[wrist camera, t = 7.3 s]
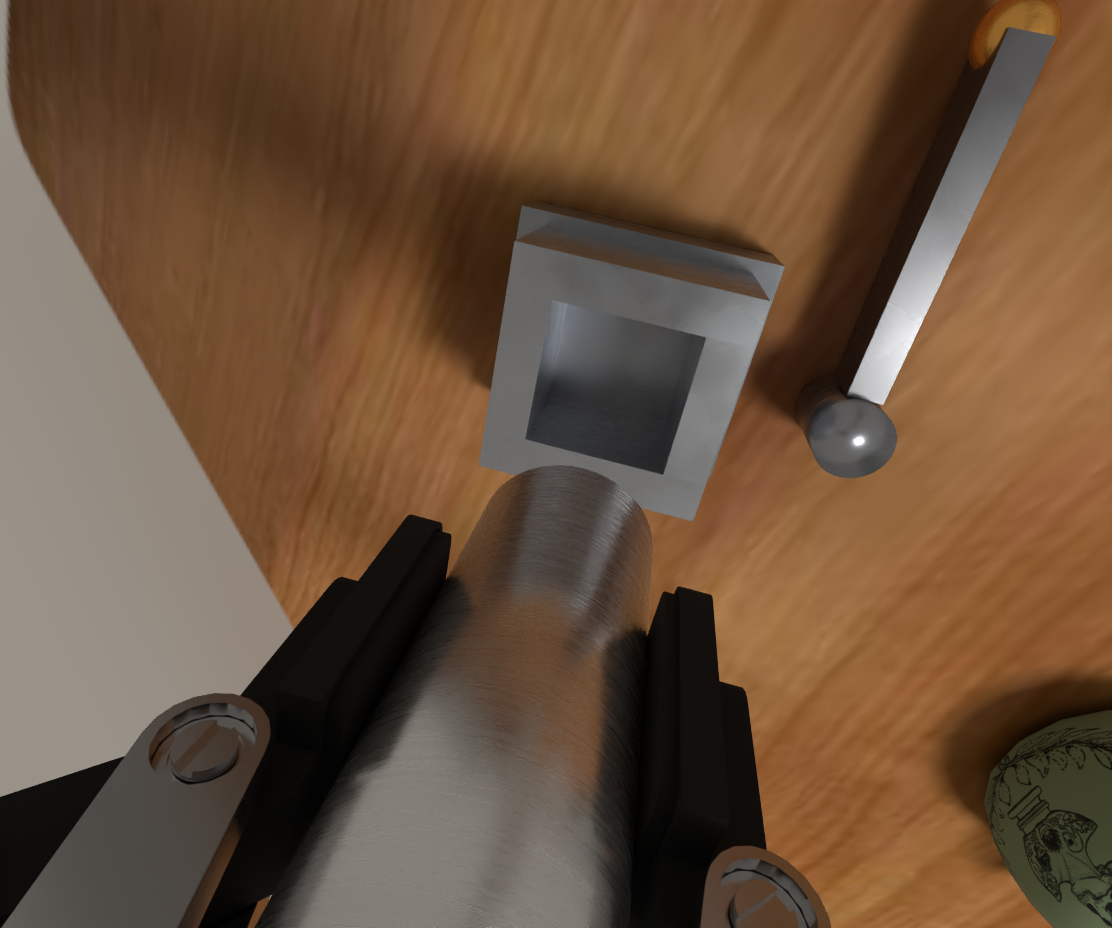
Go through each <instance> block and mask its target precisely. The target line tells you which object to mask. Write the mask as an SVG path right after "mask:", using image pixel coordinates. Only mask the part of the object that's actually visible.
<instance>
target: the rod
mask: <svg viewBox="0 0 1112 928" xmlns="http://www.w3.org/2000/svg"><path fill="white" fill-rule="evenodd" d="M652 555H653V540H652V534H651V530H650V526H649V524H648V521H647V518H646V516H645V515H644V513H643V511H642V509H641V508H640V506H639V505H638V504H637V502H636V501H635V500H634V498H633V497H632V496H631V495H630V494H629V493H628V492H627V491H626V490H624V489H623V488H622V487H620V486H619V485H618V484H617V483H615V482H613V481H612V480H610V479H608V478H607V477H605V476H603V475H600V474H598V473H596V472H593V471H590V470H587V469H584V468H579V467H574V466H564V465H553V466H544V467H538V468H534V469H531V470H527V471H525V472H523V473H520V474H518V475H516V476H514V477H513V478H511V479H510V480H508V481H507V482H506V483H504V484H503V485H502V486H501V487H500V488H499V489H498V490H497V491H496V492H495V494H494V495H493V496H492V498H491V499H490V501H489V503H488V504H487V506H486V508H485V510H484V512H483V513H482V515H481V517H480V519H479V521H478V522H477V524H476V526H475V528H474V530H473V531H472V533H471V535H470V537H469V539H468V541H467V542H466V544H465V546H464V548H463V550H462V551H461V553H460V555H459V557H458V559H457V561H456V562H455V564H454V566H453V568H452V570H451V571H450V573H449V575H448V577H447V579H446V581H445V582H444V584H443V586H442V588H441V590H440V591H439V593H438V595H437V597H436V599H435V601H434V602H433V604H432V606H431V608H430V610H429V611H428V613H427V615H426V617H425V619H424V620H423V622H422V624H421V626H420V628H419V630H418V631H417V633H416V635H415V637H414V639H413V640H412V642H411V644H410V646H409V648H408V650H407V651H406V653H405V655H404V657H403V659H402V660H401V662H400V664H399V666H398V668H397V670H396V671H395V673H394V675H393V677H392V679H391V680H390V682H389V684H388V686H387V688H386V689H385V691H384V693H383V695H382V697H381V699H380V700H379V702H378V704H377V706H376V708H375V709H374V711H373V713H372V715H371V717H370V719H369V720H368V722H367V724H366V726H365V728H364V729H363V731H362V733H361V735H360V737H359V739H358V740H357V742H356V744H355V746H354V748H353V749H352V751H351V753H350V755H349V757H348V759H347V760H346V762H345V764H344V766H343V768H342V769H341V771H340V773H339V775H338V777H337V778H336V780H335V782H334V784H333V786H332V787H331V789H330V791H329V793H328V795H327V797H326V798H325V800H324V802H323V804H322V806H321V807H320V809H319V811H318V813H317V815H316V817H315V818H314V820H313V822H312V824H311V826H310V827H309V829H308V831H307V833H306V835H305V836H304V838H303V840H302V842H301V844H300V846H299V847H298V849H297V851H296V853H295V855H294V856H293V858H292V860H291V862H290V864H289V866H288V867H287V869H286V871H285V873H284V875H283V876H282V878H281V880H280V882H279V884H278V885H277V887H276V889H275V891H274V893H273V895H272V896H271V898H270V900H269V902H268V904H267V905H266V907H265V909H264V911H263V913H262V915H261V916H260V918H259V920H258V922H257V924H256V925H255V927H254V928H629V921H630V905H631V889H632V873H633V855H634V840H635V824H636V808H637V792H638V777H639V761H640V745H641V729H642V713H643V698H644V682H645V666H646V650H647V635H648V619H649V603H650V587H651V571H652Z"/></svg>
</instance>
